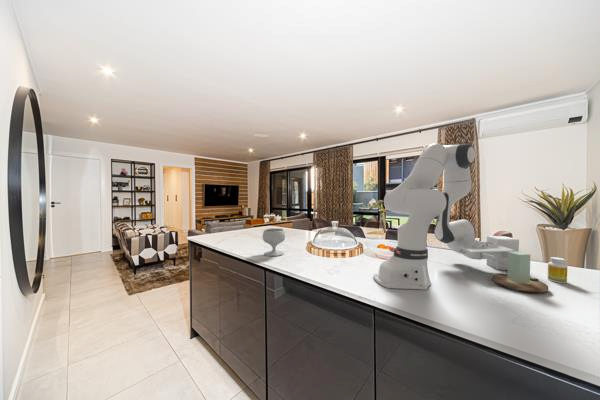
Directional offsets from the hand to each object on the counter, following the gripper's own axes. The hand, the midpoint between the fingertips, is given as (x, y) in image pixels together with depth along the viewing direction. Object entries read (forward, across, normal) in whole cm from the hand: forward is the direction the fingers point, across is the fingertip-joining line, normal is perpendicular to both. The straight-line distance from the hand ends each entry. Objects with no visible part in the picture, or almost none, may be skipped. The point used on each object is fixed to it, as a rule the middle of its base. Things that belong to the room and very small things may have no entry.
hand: (505, 258), depth 94 cm
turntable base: (+6, 0, +10) cm, 11 cm away
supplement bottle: (+2, +21, +10) cm, 23 cm away
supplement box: (-16, +15, +10) cm, 24 cm away
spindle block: (+6, 0, +8) cm, 9 cm away
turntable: (+5, 0, +9) cm, 10 cm away
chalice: (-51, -99, +10) cm, 112 cm away
